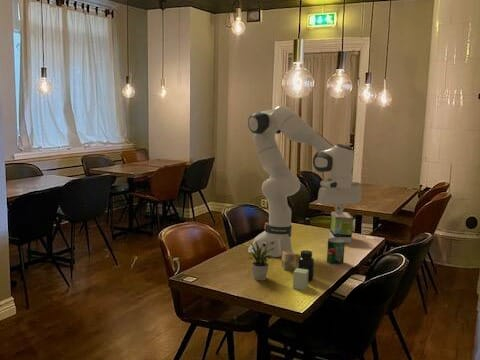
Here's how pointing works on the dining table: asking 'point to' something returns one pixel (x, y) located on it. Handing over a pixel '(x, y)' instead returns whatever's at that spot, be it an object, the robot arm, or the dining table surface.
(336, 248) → the canned tomato
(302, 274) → the sage block
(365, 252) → the dining table surface
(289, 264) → the oak block
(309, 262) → the supplement bottle
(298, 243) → the dining table surface
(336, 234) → the tea box
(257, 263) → the house plant
